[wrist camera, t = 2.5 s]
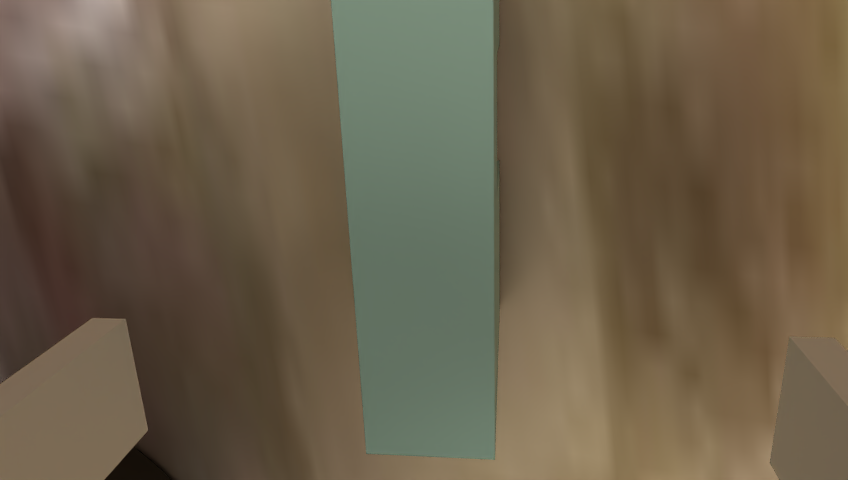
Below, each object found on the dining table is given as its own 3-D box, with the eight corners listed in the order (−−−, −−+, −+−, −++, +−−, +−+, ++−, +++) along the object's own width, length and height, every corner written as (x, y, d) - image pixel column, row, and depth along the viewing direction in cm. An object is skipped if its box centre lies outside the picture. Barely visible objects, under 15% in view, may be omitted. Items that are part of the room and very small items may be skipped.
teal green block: (413, 309, 23) (366, 453, 15) (391, -146, 18) (311, -255, 11) (499, 311, 23) (494, 459, 15) (498, -154, 18) (492, -272, 11)
